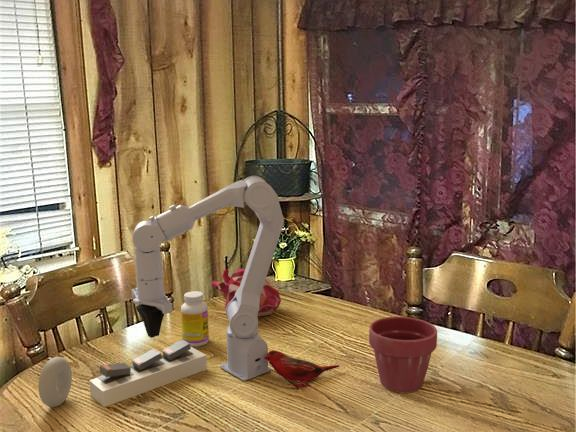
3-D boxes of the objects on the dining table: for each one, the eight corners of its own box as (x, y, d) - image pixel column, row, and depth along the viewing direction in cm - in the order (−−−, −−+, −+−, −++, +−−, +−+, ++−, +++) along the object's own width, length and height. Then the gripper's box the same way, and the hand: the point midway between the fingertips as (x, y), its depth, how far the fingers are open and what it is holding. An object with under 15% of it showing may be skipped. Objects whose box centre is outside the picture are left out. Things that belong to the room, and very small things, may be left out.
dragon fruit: (274, 299, 186) (211, 278, 182) (289, 272, 178) (223, 250, 174) (269, 335, 175) (202, 314, 171) (285, 308, 167) (215, 286, 164)
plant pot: (412, 364, 144) (413, 311, 141) (448, 391, 131) (451, 334, 128) (357, 375, 138) (357, 321, 136) (389, 404, 126) (390, 345, 123)
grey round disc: (61, 391, 133) (57, 348, 131) (76, 392, 133) (72, 348, 130) (37, 416, 123) (32, 369, 121) (54, 417, 123) (49, 370, 121)
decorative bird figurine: (267, 390, 132) (260, 355, 140) (345, 391, 136) (334, 357, 145) (270, 381, 130) (263, 346, 138) (348, 382, 135) (337, 348, 143)
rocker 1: (130, 374, 133) (130, 367, 132) (105, 377, 129) (106, 370, 129) (123, 369, 135) (124, 362, 135) (99, 372, 131) (100, 365, 131)
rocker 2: (162, 358, 137) (160, 352, 137) (140, 370, 134) (138, 364, 134) (154, 353, 140) (153, 348, 139) (133, 365, 136) (131, 359, 136)
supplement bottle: (206, 347, 154) (204, 298, 151) (180, 347, 154) (177, 298, 151) (210, 336, 161) (208, 289, 158) (185, 337, 161) (182, 289, 158)
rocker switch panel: (206, 369, 142) (206, 353, 141) (104, 407, 126) (102, 389, 125) (191, 360, 147) (190, 344, 146) (90, 395, 131) (89, 378, 130)
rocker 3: (190, 348, 142) (189, 343, 142) (170, 360, 139) (169, 354, 138) (183, 344, 144) (182, 338, 144) (163, 355, 141) (161, 350, 141)
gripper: (117, 273, 137) (121, 331, 140) (149, 288, 126) (153, 351, 129) (146, 266, 141) (149, 323, 144) (179, 281, 131) (183, 341, 133)
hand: (153, 335), depth 137 cm, fingers closed
